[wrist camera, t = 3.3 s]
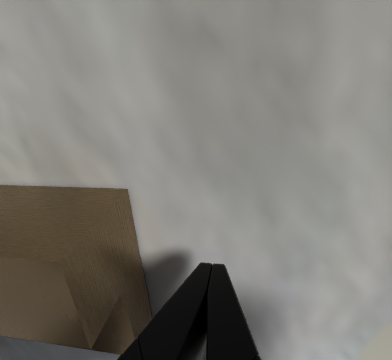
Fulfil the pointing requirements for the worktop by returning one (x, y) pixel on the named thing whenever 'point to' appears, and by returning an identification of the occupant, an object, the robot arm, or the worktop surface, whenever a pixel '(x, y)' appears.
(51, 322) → the wooden block
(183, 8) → the worktop surface
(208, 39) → the worktop surface
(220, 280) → the robot arm
